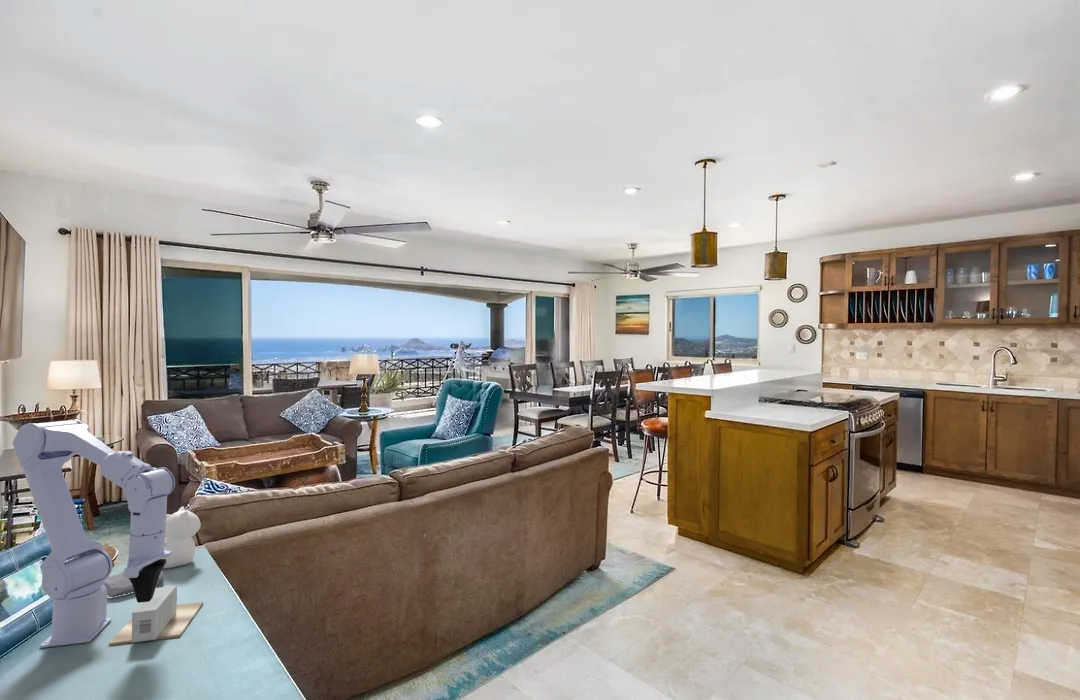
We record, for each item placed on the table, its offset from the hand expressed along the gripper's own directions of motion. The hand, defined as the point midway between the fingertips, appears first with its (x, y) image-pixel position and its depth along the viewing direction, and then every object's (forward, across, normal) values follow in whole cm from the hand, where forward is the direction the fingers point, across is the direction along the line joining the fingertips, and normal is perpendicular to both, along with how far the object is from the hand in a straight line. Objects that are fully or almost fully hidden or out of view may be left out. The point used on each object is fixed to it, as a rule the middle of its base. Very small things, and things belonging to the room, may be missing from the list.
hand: (144, 600), depth 103 cm
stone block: (+9, +30, +13) cm, 34 cm away
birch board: (+8, +8, 0) cm, 12 cm away
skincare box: (+5, 0, 0) cm, 5 cm away
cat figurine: (+9, +44, +9) cm, 46 cm away
